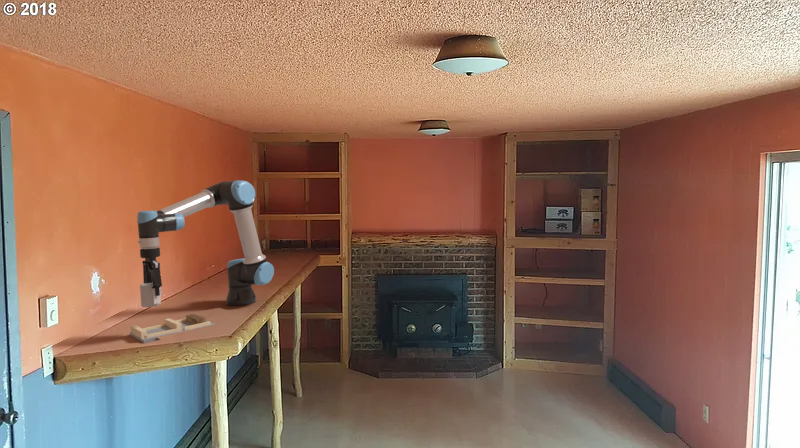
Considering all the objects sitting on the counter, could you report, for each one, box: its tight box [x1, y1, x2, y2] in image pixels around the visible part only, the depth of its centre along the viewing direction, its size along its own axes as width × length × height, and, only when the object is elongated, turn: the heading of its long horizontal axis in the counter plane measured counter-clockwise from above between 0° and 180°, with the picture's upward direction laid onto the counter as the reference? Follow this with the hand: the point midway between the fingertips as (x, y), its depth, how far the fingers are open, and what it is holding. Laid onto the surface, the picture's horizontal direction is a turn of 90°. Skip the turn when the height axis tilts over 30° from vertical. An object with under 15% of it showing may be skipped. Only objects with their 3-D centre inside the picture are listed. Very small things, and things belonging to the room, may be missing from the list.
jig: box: [129, 317, 216, 344], centre depth 226 cm, size 30×18×4 cm, turn 134°
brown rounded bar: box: [185, 313, 207, 325], centre depth 233 cm, size 4×12×3 cm, turn 44°
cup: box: [139, 283, 163, 308], centre depth 221 cm, size 7×10×9 cm
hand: (154, 301), depth 221 cm, fingers closed on cup, 7 cm apart
